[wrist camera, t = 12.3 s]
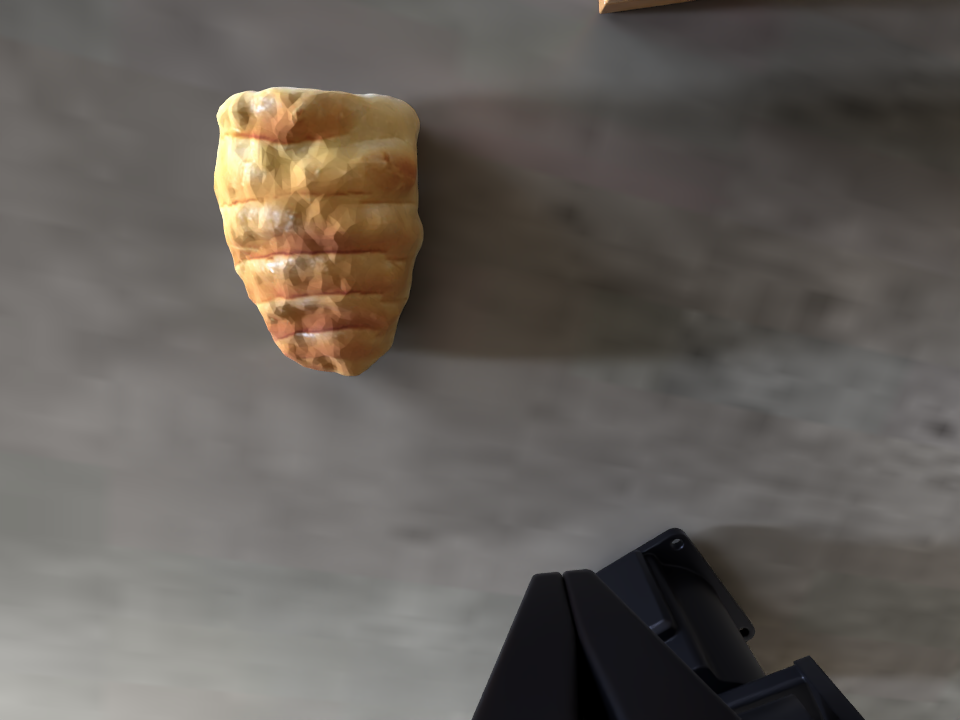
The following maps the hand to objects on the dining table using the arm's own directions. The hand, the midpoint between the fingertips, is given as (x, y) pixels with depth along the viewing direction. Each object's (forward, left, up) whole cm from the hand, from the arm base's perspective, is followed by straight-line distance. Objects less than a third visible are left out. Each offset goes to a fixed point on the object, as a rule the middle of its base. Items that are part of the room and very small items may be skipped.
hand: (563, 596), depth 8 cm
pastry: (+8, +2, -13) cm, 16 cm away
